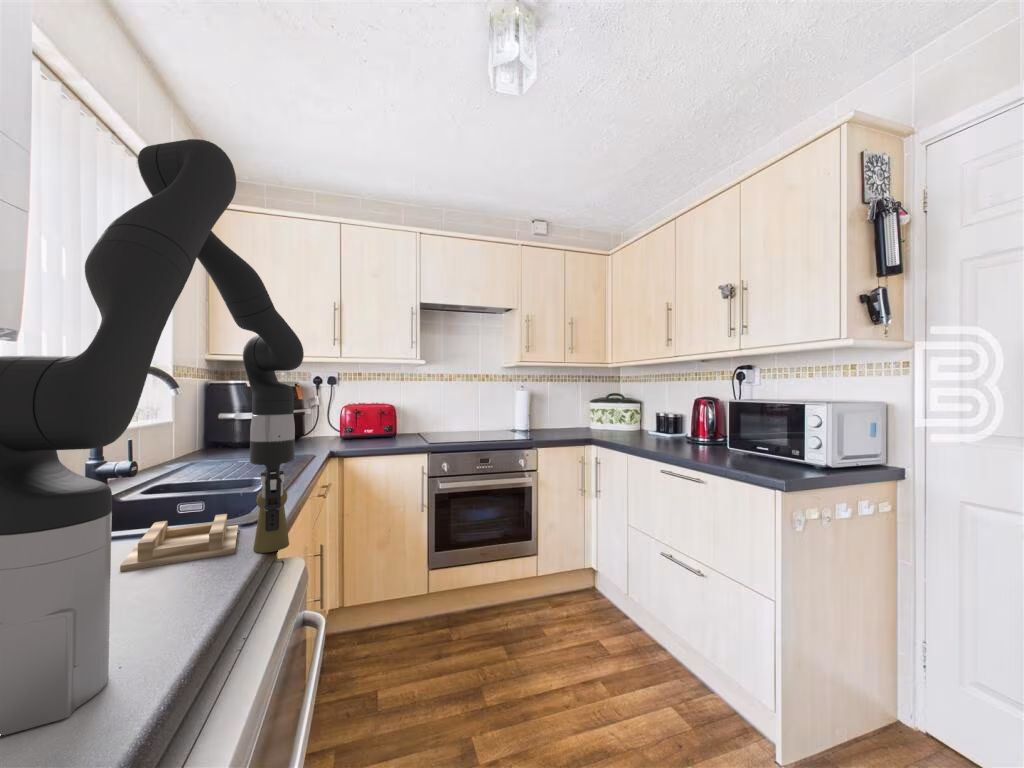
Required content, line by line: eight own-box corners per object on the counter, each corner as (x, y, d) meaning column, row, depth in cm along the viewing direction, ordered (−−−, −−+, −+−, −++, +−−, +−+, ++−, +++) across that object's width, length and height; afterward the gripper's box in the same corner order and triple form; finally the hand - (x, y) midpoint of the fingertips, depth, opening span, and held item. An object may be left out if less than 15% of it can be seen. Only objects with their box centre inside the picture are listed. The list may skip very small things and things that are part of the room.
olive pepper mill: (259, 542, 85) (260, 486, 85) (292, 540, 86) (293, 485, 86) (248, 553, 79) (249, 493, 79) (284, 551, 80) (285, 491, 80)
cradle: (234, 553, 80) (234, 531, 80) (120, 571, 71) (120, 547, 72) (238, 529, 93) (238, 511, 93) (142, 542, 85) (143, 522, 85)
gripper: (297, 440, 79) (296, 534, 78) (292, 434, 91) (291, 515, 91) (249, 442, 75) (248, 541, 74) (250, 435, 87) (249, 520, 87)
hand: (271, 526), depth 83 cm, fingers closed on olive pepper mill, 4 cm apart
